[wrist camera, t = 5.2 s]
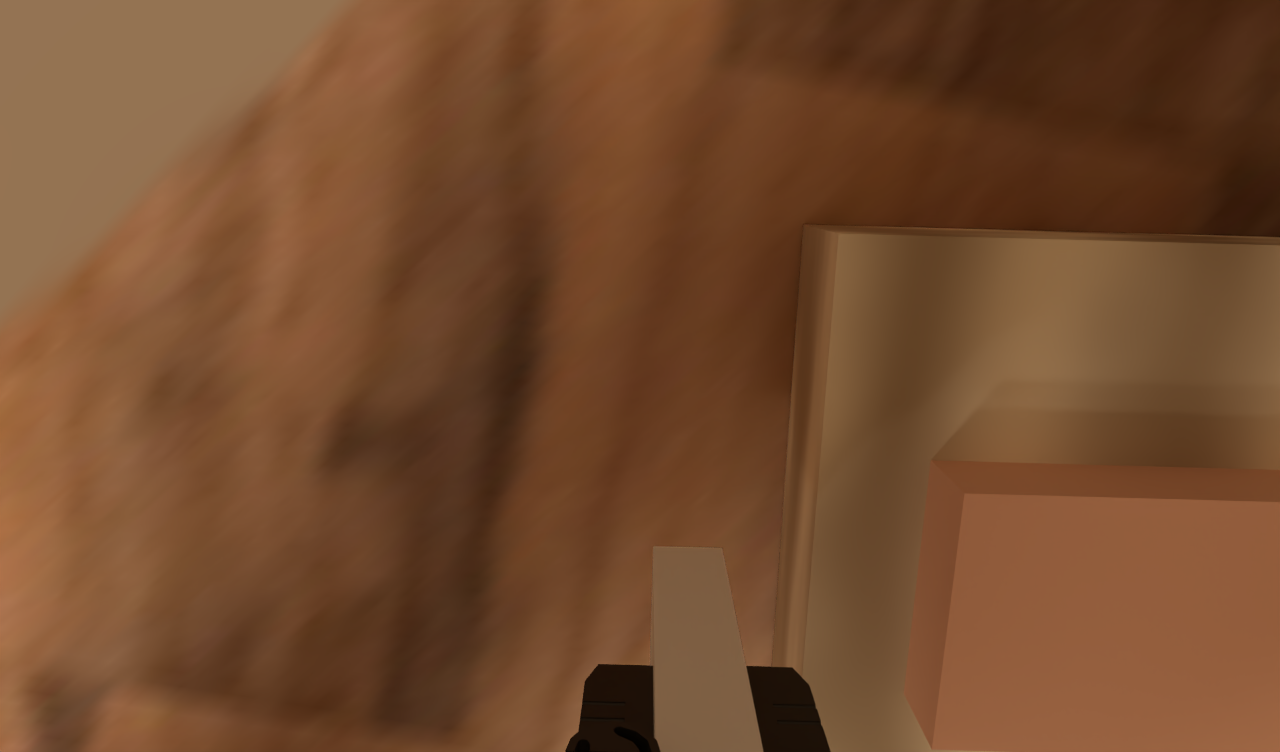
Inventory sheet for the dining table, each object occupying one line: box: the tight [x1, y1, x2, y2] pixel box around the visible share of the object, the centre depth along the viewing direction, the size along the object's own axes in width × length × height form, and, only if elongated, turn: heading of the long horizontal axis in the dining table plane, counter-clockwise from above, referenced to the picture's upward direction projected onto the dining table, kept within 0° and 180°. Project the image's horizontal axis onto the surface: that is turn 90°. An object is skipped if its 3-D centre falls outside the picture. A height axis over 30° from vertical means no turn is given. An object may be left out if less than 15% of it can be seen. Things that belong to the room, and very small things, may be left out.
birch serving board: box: [771, 224, 1280, 752], centre depth 21 cm, size 16×16×4 cm
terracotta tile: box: [904, 460, 1280, 752], centre depth 18 cm, size 9×6×2 cm, turn 89°
